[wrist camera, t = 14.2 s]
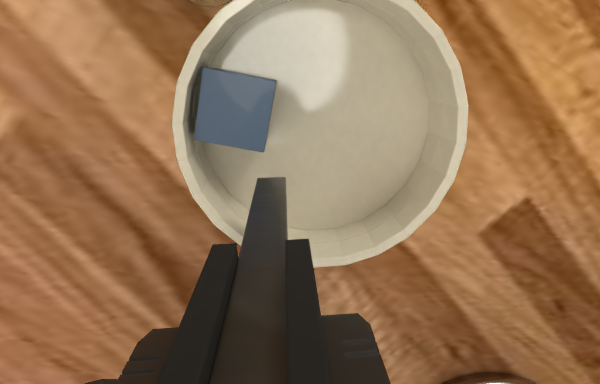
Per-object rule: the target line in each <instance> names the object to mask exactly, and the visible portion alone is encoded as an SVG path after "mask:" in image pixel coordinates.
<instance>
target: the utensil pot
mask: <svg viewBox="0 0 600 384" xmlns="http://www.w3.org/2000/svg"><path fill="white" fill-rule="evenodd" d="M190 1H192V2H194V3H196V4H199V5H203V6H219V5H223V4H225V3H227V2H229V1H231V0H190Z"/></svg>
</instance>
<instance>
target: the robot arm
mask: <svg viewBox="0 0 600 384" xmlns="http://www.w3.org/2000/svg"><path fill="white" fill-rule="evenodd" d="M285 260H286V345H287V384H390V381H389V378H388V375H387V372H386V369H385V366H384V364H383V361H382V358H381V355H380V354H379V349H378V346H377V343H376V342H375V337H374V335H373V332H372V329H371V326H370V324H369V323H368V322H367V321H366V320H365V319H363V318H362V317H361V316H360V315H359V314H358V313H354V314H340V315H326V316H321V313H320V307H319V300H318V294H317V287H316V281H315V275H314V268H313V262H312V255H311V249H310V242H309V238H308V239H293V240H285ZM237 261H238V253H237V243H233V244H218V245H212V248H211V250H210V253H209V255H208V258H207V260H206V262H205V265H204V267H203V270H202V272H201V275H200V277H199V280H198V282H197V284H196V287H195V289H194V292H193V294H192V297H191V299H190V301H189V304H188V306H187V309H186V311H185V314H184V316H183V319H182V321H181V323H180V326H179V327H177V328H163V329H153V330H152V331H151V332H149V333H148V334H147V335H146V336H145V337H144V338H143V339H142V340H140V341H139V342H138V343H137V345H136V347H135V349H134V351H133V353H132V354H131V356H130V358H129V361H128V362H127V364H126V366H125V367H124V369H123V371H122V375H120V377H119V379H118V380H117V379H101V380H97V381H93V382H89V383H85V384H208V383H209V378H210V374H211V370H212V366H213V362H214V357H215V353H216V349H217V345H218V341H219V336H220V332H221V328H222V324H223V320H224V316H225V311H226V307H227V303H228V299H229V295H230V290H231V286H232V282H233V278H234V274H235V270H236V265H237ZM444 384H535V383H534V382H532V381H529V380H527V379H525V378H522V377H519V376H515V375H511V374H504V373H480V374H473V375H468V376H464V377H460V378H457V379H454V380H451V381H449V382H447V383H444Z"/></svg>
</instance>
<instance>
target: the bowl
mask: <svg viewBox="0 0 600 384" xmlns="http://www.w3.org/2000/svg"><path fill="white" fill-rule="evenodd" d="M203 67H206V68H218V69H223V70H228V71H233V72H238V73H243V74H249V75H254V76H259V77H264V78H269V79H274V80H277V84H276V90H275V96H274V101H273V107H272V113H271V119H270V125H269V131H268V137H267V142H266V147H265V151H264V152H258V151H252V150H246V149H241V148H235V147H230V146H224V145H219V144H213V143H207V142H202V141H196V140H194V135H195V127H196V118H197V110H198V102H199V93H200V85H201V77H202V68H203ZM467 123H468V99H467V95H466V90H465V85H464V80H463V75H462V70H461V67H460V64H459V62H458V60H457V58H456V56H455V54H454V52H453V50H452V48H451V46H450V44H449V42H448V40H447V38H446V36H445V34H444V33H443V31H442V29H441V28H440V27H439V26H438V25H437V24H436V23H435V22H434V21H433V20H432V19H431V18H430V16H429V15H428V14H427V13H426V12H425V11H424V10H423V9H422V8H421V7H420V6H419V5H418V4H417V3H416V2H415V1H414V0H233V1H231V2H230V3H229V4H227V5H226V6H225V7H223V8H222V9H220V10H219V12H217V13H216V15H215V16H214V17H213V19H212V20H211V21H210V22H209V24H208V25H207V26H206V27H205V29H204V30H203V31H202V33H201V34H200V35H199V36H198V38H197V39H196V40H195V42H194V43H193V45H192V46H191V49H190V51H189V54H188V56H187V58H186V61H185V63H184V66H183V68H182V71H181V73H180V75H179V78H178V80H177V84H176V91H175V99H174V107H173V115H172V130H173V137H174V144H175V151H176V158H177V161H178V165H179V167H180V169H181V172H182V174H183V176H184V179H185V181H186V184H187V186H188V188H189V191H190V193H191V195H192V196H193V198H194V200H195V201H196V202H197V204H198V205H199V206H200V207H201V209H202V210H203V211H204V213H205V214H206V215H207V216H208V218H209V219H210V220H211V222H212V223H213V224H214V225H215V226H216V227H217V228H218V229H220V230H221V231H222V232H224V233H225V234H226V235H227V236H229V237H230V238H231V239H233V240H234V241H235V242H236V243H238V244H239V245H240V246H241V244H242V240H243V236H244V232H245V227H246V223H247V219H248V215H249V211H250V207H251V202H252V198H253V194H254V190H255V186H256V182H257V178H270V177H286V195H287V226H288V240H293V239H308V238H309V242H310V249H311V255H312V262H313V268H314V267H329V266H343V265H348V264H351V263H355V262H358V261H361V260H364V259H367V258H370V257H374V256H377V255H378V254H381V253H383V252H384V251H386V250H388V249H389V248H391V247H393V246H394V245H396V244H398V243H399V242H401V241H403V240H404V239H406V238H408V237H409V236H410V235H411V234H412V233H413V232H414V231H415V230H416V229H417V228H418V227H419V226H420V225H421V224H422V223H423V222H424V221H425V220H426V219H427V218H428V217H429V216H431V215H432V214H433V213H434V211H435V210H436V209H437V207H438V206H439V204H440V203H441V201H442V199H443V198H444V196H445V195H446V193H447V191H448V190H449V188H450V186H451V185H452V183H453V182H454V179H455V177H456V174H457V171H458V168H459V165H460V162H461V158H462V155H463V152H464V149H465V146H466V140H467Z"/></svg>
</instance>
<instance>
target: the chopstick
mask: <svg viewBox="0 0 600 384" xmlns="http://www.w3.org/2000/svg"><path fill="white" fill-rule="evenodd" d="M285 240H288V226H287V195H286V177H270V178H257V182H256V186H255V190H254V194H253V198H252V202H251V207H250V211H249V215H248V219H247V223H246V227H245V232H244V236H243V240H242V244H241V248H240V253H239V257H238V261H237V265H236V270H235V274H234V278H233V282H232V286H231V290H230V295H229V299H228V303H227V307H226V311H225V316H224V320H223V324H222V328H221V332H220V336H219V341H218V345H217V349H216V353H215V357H214V362H213V366H212V370H211V374H210V378H209V383H208V384H287V345H286V260H285Z"/></svg>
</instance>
